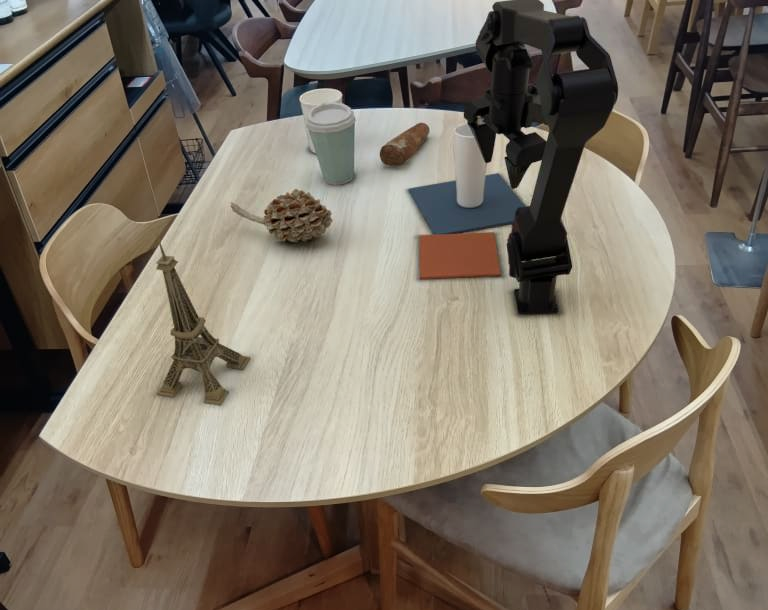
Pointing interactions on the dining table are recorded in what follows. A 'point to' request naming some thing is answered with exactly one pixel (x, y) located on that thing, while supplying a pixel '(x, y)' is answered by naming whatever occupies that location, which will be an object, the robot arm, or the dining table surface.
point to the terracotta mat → (458, 255)
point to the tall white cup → (468, 168)
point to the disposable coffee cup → (333, 140)
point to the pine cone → (292, 216)
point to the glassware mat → (453, 218)
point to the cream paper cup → (317, 103)
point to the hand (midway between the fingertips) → (500, 174)
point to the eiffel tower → (192, 340)
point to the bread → (404, 145)
